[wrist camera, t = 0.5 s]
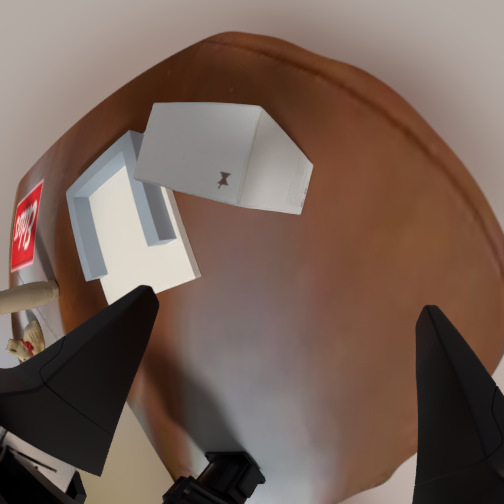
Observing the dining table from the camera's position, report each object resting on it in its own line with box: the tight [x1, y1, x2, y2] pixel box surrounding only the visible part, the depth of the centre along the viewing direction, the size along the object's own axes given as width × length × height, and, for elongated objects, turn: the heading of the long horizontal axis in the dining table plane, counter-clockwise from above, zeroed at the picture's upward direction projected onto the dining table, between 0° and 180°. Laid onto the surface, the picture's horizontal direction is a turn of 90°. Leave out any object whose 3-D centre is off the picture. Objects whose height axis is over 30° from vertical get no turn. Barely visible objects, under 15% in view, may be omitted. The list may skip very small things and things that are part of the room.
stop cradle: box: [66, 130, 201, 305], centre depth 26 cm, size 16×14×4 cm
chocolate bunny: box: [6, 319, 45, 362], centre depth 38 cm, size 6×8×10 cm
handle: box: [0, 281, 59, 315], centre depth 30 cm, size 5×6×15 cm
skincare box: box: [133, 102, 313, 215], centre depth 16 cm, size 6×4×12 cm
